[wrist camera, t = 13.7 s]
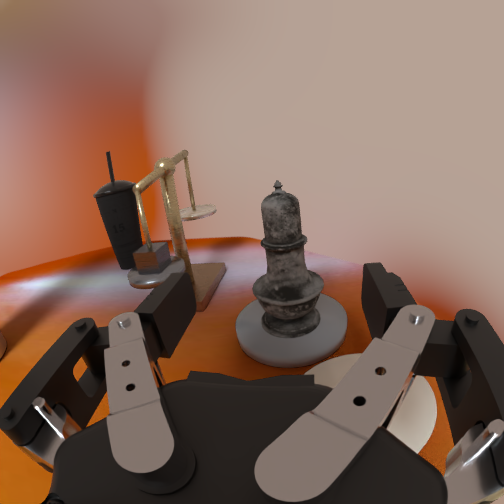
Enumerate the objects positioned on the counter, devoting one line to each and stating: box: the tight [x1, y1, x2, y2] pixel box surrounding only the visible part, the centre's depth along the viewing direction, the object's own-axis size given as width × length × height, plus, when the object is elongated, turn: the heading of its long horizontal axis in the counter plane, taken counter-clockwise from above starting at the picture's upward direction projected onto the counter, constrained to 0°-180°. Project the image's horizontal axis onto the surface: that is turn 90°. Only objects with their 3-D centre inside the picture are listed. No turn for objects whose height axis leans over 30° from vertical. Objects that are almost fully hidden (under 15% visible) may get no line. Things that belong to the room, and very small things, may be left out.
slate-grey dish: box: [236, 293, 347, 368], centre depth 24 cm, size 10×10×1 cm
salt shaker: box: [252, 181, 324, 338], centre depth 21 cm, size 6×6×12 cm
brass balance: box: [128, 150, 226, 311], centre depth 31 cm, size 7×19×17 cm, turn 171°
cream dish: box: [304, 353, 437, 454], centre depth 14 cm, size 10×10×1 cm
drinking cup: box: [93, 151, 143, 269], centre depth 41 cm, size 8×8×20 cm
